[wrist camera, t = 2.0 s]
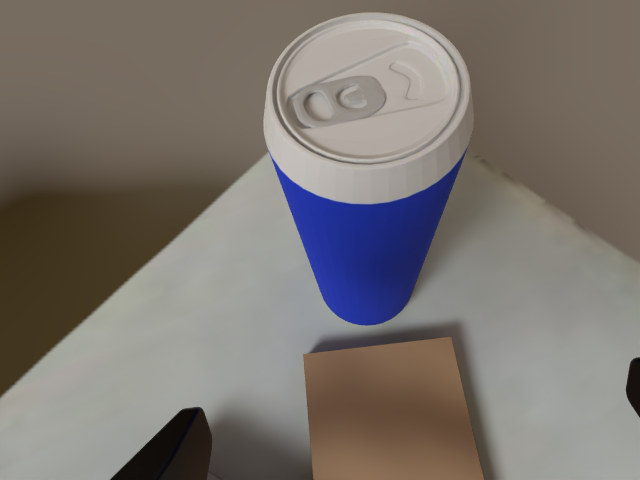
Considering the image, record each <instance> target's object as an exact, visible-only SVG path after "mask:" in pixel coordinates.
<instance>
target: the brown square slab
mask: <svg viewBox="0 0 640 480" xmlns="http://www.w3.org/2000/svg"><path fill="white" fill-rule="evenodd" d="M303 357H304V370H305V382H306V395H307V407H308V420H309V432H310V445H311V457H312V470H313V480H484V478H483V473H482V469H481V465H480V460H479V456H478V452H477V447H476V443H475V439H474V434H473V430H472V426H471V421H470V417H469V413H468V408H467V404H466V399H465V395H464V391H463V386H462V382H461V378H460V373H459V369H458V365H457V360H456V356H455V352H454V347H453V343H452V339H451V337H444V338H436V339H427V340H419V341H410V342H402V343H393V344H385V345H376V346H368V347H359V348H351V349H342V350H334V351H325V352H317V353H308V354H303Z"/></svg>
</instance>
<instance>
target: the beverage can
mask: <svg viewBox="0 0 640 480" xmlns="http://www.w3.org/2000/svg"><path fill="white" fill-rule="evenodd" d="M473 124H474V111H473V101H472V92H471V84H470V76H469V74H468V70H467V67H466V64H465V63H464V61H463V59H462V57H461V55H460V54H459V52H458V51H457V49H456V48H455V47H454V46H453V44H452V43H451V42H450V41H449V40H448V39H447V38H445V37H444V36H443V35H442V34H441V33H439V32H438V31H436V30H435V29H433V28H431V27H430V26H428V25H426V24H424V23H421V22H419V21H417V20H414V19H411V18H408V17H405V16H400V15H395V14H389V13H377V12H372V13H357V14H350V15H345V16H341V17H337V18H333V19H331V20H328V21H326V22H323V23H320V24H318V25H316V26H314V27H313V28H311V29H309V30H308V31H306V32H304V33H303V34H301V35H300V36H299V37H297V38H296V39H295V40H294V41H293V42H292V43H291V44H290V45H289V46H288V47H287V48H286V49H285V50H284V51H283V53H282V54H281V55H280V57H279V58H278V60H277V62H276V63H275V65H274V67H273V70H272V72H271V75H270V78H269V81H268V87H267V93H266V102H265V111H264V135H265V140H266V144H267V147H268V150H269V153H270V156H271V158H272V161H273V164H274V166H275V169H276V172H277V175H278V177H279V180H280V183H281V185H282V188H283V191H284V194H285V196H286V199H287V202H288V204H289V207H290V210H291V213H292V215H293V218H294V221H295V224H296V226H297V229H298V232H299V234H300V237H301V240H302V243H303V245H304V248H305V251H306V253H307V256H308V259H309V262H310V264H311V267H312V270H313V272H314V275H315V278H316V281H317V283H318V286H319V289H320V292H321V294H322V296H323V299H324V301H325V302H326V304H327V306H328V307H329V308H330V309H331V310H332V311H333V312H334V313H335V314H336V315H337V316H338V317H340V318H342V319H343V320H345V321H348V322H350V323H353V324H358V325H376V324H380V323H383V322H386V321H388V320H390V319H392V318H393V317H395V316H396V315H397V314H398V313H400V312H401V311H402V309H403V308H404V307H405V306H406V304H407V302H408V301H409V299H410V296H411V294H412V291H413V288H414V286H415V283H416V281H417V278H418V275H419V273H420V270H421V268H422V265H423V262H424V260H425V257H426V254H427V252H428V249H429V247H430V244H431V241H432V239H433V236H434V234H435V231H436V228H437V226H438V223H439V220H440V218H441V215H442V213H443V210H444V207H445V205H446V202H447V200H448V197H449V194H450V192H451V189H452V187H453V184H454V181H455V179H456V176H457V173H458V171H459V168H460V166H461V163H462V160H463V158H464V155H465V153H466V150H467V147H468V144H469V141H470V138H471V135H472V132H473Z"/></svg>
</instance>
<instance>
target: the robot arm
mask: <svg viewBox="0 0 640 480" xmlns="http://www.w3.org/2000/svg"><path fill="white" fill-rule="evenodd" d="M626 394H627V398H628V400H629V402H630V404H631V405H632V407H633V408H634V410H635V411H636V413H637V414H638V416H639V417H640V357H638V358H634V359H633V360H632V361H631V363H630V367H629V373H628V379H627V385H626ZM211 449H212V435H211V432H210V429H209V426H208V422H207V419H206V416H205V413H204V411H203V409H202V408H200V407H193V408H185V409H182V410H181V411H180V412H178V413H177V414H176V415H175V416H174V417H173V418H172V419H171V420H170V421H169V422H168V423H167V424H166V425H165V426H164V427H163V428H162V429H161V430H160V431H159V432H158V433H157V434H156V435H155V436H154V437H153V438H152V439H151V440H150V441H149V442H148V443H147V444H146V445H145V446H144V447H143V448H142V449H141V450H140V451H139V452H138V453H137V454H136V455H135V456H134V457H133V458H132V459H131V460H130V461H129V462H127V463H126V464H125V465H124V466H123V467H122V468H121V469H120V470H119V471H118V472H117V473H116V474H115V475H114V476H113V477H112V478H111V479H110V480H207V476H208V469H209V463H210V456H211Z"/></svg>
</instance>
